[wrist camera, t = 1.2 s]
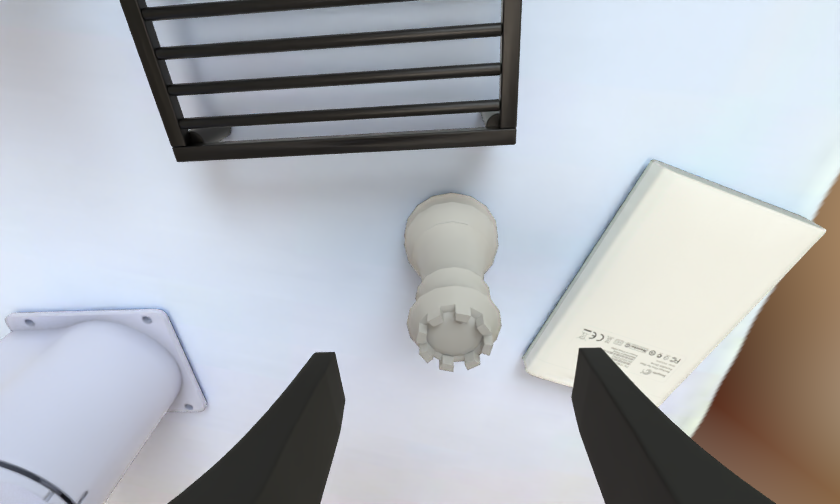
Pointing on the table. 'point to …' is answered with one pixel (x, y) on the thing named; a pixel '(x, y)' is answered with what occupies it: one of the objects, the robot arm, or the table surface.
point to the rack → (323, 84)
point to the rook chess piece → (452, 279)
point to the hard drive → (670, 280)
